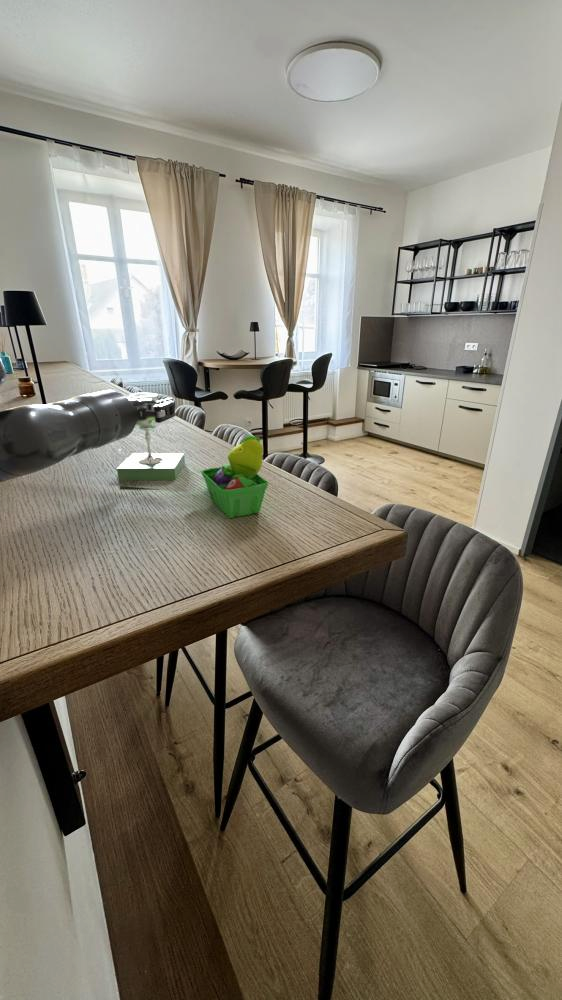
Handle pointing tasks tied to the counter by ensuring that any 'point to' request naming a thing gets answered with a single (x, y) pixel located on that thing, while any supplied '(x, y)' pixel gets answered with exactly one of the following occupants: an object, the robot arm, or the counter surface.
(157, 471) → the green block
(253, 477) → the fruit basket
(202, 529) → the counter surface
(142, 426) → the wineglass
